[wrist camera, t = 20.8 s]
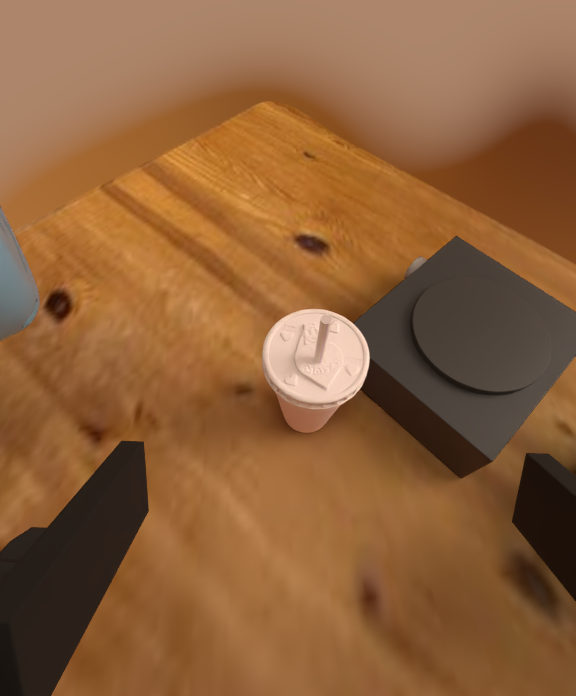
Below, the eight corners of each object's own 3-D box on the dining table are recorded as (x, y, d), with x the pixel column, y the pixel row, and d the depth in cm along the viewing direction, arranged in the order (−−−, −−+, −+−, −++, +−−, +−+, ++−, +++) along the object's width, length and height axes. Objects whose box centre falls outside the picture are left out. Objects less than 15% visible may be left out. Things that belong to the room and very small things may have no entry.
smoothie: (273, 457, 29) (270, 379, 17) (259, 381, 33) (248, 268, 20) (355, 441, 30) (408, 355, 18) (334, 368, 33) (367, 251, 21)
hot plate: (322, 355, 34) (329, 318, 29) (426, 266, 39) (447, 223, 34) (460, 479, 29) (497, 459, 24) (558, 357, 34) (604, 321, 29)
